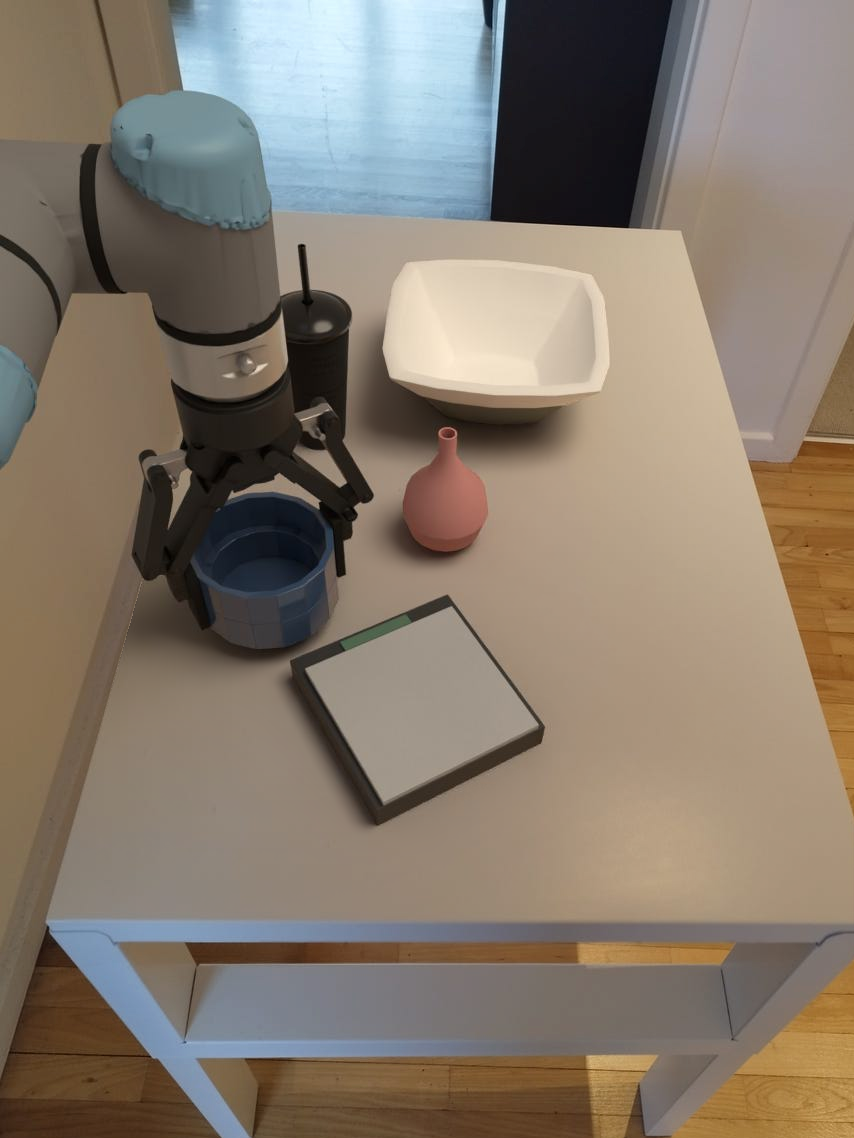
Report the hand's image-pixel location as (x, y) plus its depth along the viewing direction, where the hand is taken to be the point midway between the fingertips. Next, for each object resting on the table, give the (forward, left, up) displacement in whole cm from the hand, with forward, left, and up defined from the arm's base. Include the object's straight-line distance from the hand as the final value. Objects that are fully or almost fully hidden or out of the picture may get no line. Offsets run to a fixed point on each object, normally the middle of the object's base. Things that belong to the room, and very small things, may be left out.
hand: (269, 590), depth 76 cm
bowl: (-17, +32, -3) cm, 36 cm away
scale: (+15, +6, -3) cm, 16 cm away
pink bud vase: (-1, +17, -3) cm, 18 cm away
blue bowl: (0, 0, -1) cm, 1 cm away
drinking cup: (-19, +13, -3) cm, 23 cm away
